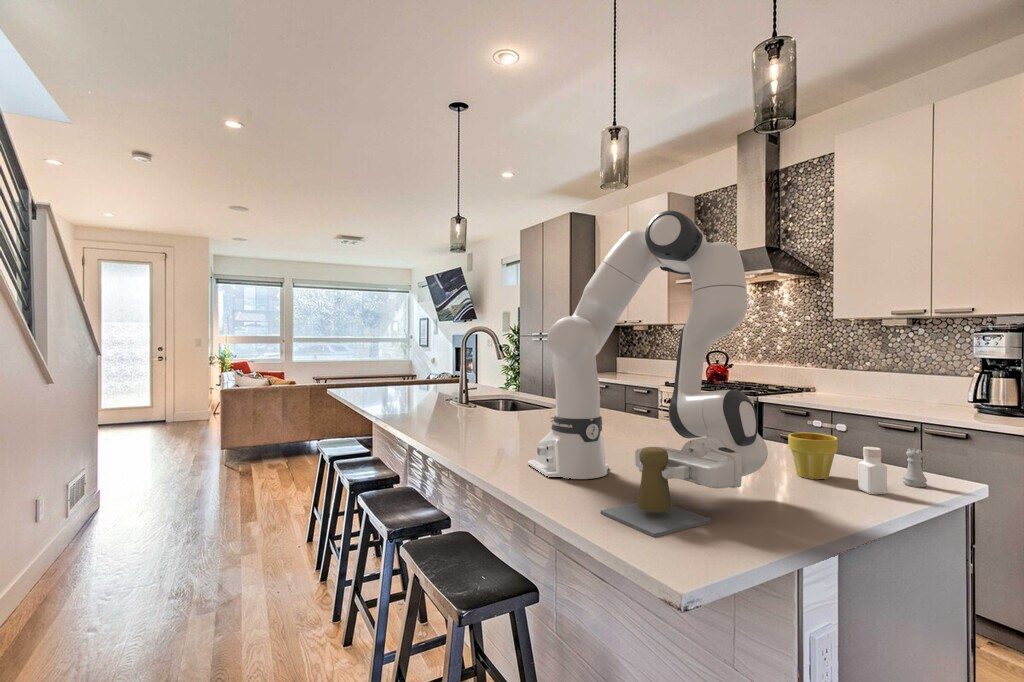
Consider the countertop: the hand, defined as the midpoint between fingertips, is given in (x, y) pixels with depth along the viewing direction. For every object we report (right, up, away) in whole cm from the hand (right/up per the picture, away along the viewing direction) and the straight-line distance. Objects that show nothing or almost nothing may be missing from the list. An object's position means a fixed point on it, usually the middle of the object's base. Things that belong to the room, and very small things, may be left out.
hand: (651, 470), depth 95 cm
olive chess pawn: (+1, -7, 0) cm, 7 cm away
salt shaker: (+52, -9, +16) cm, 55 cm away
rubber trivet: (+1, -9, 0) cm, 9 cm away
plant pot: (+47, -9, +29) cm, 55 cm away
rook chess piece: (+65, -9, +21) cm, 69 cm away
